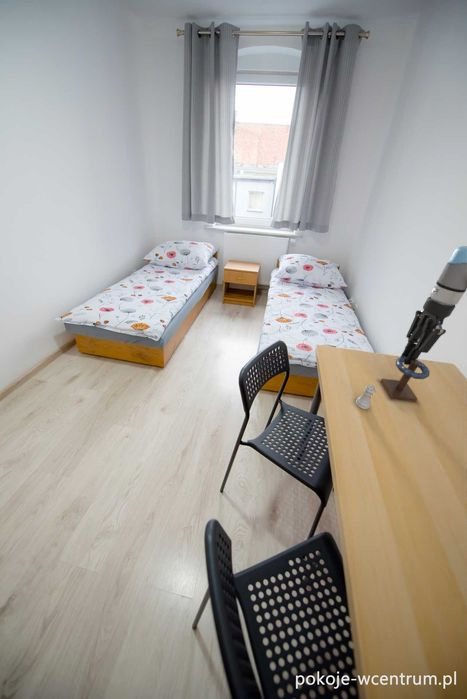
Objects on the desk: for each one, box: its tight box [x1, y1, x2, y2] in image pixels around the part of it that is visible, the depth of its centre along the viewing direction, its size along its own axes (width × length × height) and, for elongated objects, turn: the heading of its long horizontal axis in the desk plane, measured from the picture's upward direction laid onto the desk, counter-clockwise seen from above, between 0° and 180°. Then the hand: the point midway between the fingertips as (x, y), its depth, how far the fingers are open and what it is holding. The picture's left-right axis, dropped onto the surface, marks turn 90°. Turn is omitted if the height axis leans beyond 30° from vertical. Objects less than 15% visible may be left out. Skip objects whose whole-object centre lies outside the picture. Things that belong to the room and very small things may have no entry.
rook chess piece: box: [355, 384, 377, 410], centre depth 90 cm, size 4×4×8 cm
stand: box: [380, 360, 420, 403], centre depth 96 cm, size 9×9×14 cm
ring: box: [394, 356, 431, 380], centre depth 93 cm, size 10×10×2 cm
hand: (406, 361), depth 97 cm, fingers closed on ring, 2 cm apart
